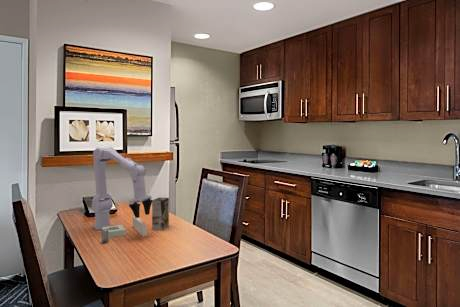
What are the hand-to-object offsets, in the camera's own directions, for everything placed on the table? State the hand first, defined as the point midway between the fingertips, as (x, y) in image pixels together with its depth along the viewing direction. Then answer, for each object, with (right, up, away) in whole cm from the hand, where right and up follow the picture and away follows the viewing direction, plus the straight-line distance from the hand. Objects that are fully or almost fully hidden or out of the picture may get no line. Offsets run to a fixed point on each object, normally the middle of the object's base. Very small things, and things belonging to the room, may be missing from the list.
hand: (142, 216), depth 165 cm
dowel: (-15, -11, -9) cm, 21 cm away
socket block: (-16, -10, +3) cm, 19 cm away
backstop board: (-4, -10, +9) cm, 14 cm away
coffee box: (+6, -10, +16) cm, 20 cm away
